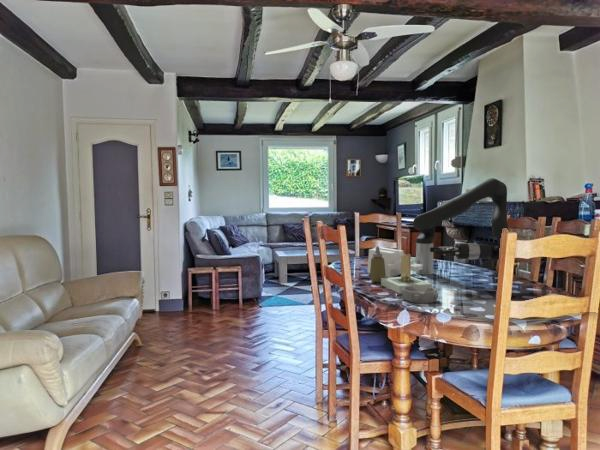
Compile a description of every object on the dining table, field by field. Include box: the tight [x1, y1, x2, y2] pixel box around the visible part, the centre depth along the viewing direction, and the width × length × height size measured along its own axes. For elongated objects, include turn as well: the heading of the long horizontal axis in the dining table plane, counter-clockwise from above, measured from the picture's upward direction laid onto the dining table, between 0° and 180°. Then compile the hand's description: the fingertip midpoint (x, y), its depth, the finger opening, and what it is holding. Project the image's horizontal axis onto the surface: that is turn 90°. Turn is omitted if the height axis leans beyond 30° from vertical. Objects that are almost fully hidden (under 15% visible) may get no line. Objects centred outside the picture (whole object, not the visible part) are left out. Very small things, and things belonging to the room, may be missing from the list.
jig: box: [380, 276, 433, 295], centre depth 200 cm, size 20×16×4 cm
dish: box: [401, 286, 439, 304], centre depth 177 cm, size 14×14×5 cm
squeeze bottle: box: [369, 245, 386, 283], centre depth 217 cm, size 8×8×18 cm
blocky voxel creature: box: [367, 246, 423, 278], centre depth 233 cm, size 15×25×28 cm
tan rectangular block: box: [400, 253, 412, 282], centre depth 200 cm, size 4×4×16 cm
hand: (432, 250), depth 199 cm, fingers open, 8 cm apart
